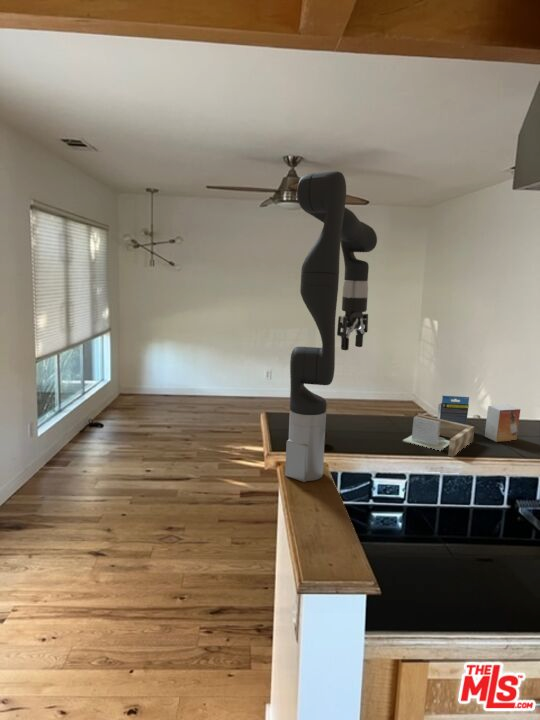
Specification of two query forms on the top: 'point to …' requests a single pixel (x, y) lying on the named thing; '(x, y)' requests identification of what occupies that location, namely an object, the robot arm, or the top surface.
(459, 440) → the corner walls
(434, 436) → the angle bracket
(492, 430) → the small box
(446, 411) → the label tape box
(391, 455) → the top surface
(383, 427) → the top surface
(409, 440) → the pad
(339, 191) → the robot arm
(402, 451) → the top surface
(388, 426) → the top surface
